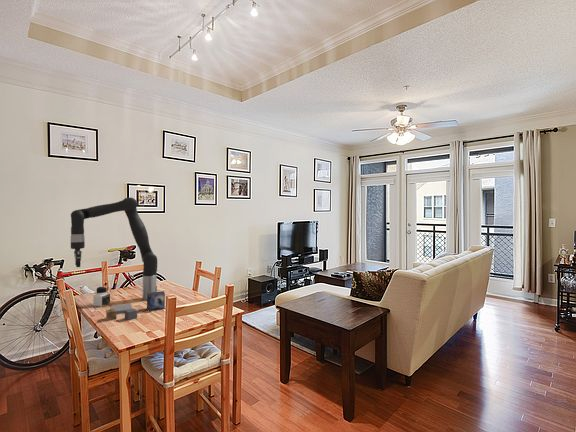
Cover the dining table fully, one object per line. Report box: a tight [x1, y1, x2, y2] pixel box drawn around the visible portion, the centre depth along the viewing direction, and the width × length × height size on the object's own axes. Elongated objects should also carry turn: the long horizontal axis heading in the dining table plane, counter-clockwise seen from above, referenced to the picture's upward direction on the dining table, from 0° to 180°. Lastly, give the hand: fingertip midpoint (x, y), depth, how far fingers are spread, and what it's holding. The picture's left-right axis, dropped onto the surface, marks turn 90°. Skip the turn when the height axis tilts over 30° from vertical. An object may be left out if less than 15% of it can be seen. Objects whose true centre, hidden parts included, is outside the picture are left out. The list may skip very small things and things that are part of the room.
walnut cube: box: [105, 309, 117, 322], centre depth 188 cm, size 5×5×5 cm
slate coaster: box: [109, 303, 133, 315], centre depth 202 cm, size 12×12×2 cm
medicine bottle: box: [92, 286, 111, 307], centre depth 214 cm, size 7×7×12 cm
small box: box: [146, 290, 166, 311], centre depth 208 cm, size 11×6×10 cm, turn 118°
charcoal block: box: [124, 308, 138, 321], centre depth 189 cm, size 5×5×5 cm
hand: (77, 266), depth 204 cm, fingers open, 8 cm apart
